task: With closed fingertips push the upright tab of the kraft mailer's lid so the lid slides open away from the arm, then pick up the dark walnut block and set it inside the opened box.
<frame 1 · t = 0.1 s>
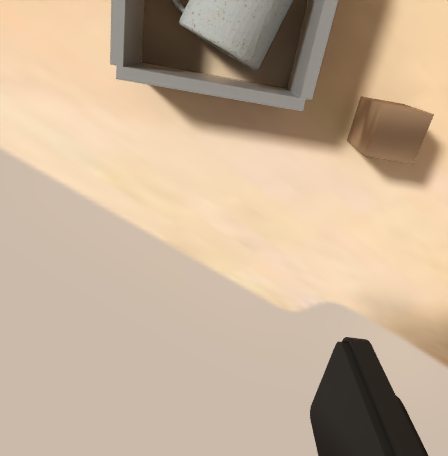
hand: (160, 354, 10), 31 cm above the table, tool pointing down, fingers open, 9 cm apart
walnut block: (374, 122, 37), on the table
coaster tray: (226, 1, 32), on the table
ceramic mug: (225, 1, 33), resting in coaster tray
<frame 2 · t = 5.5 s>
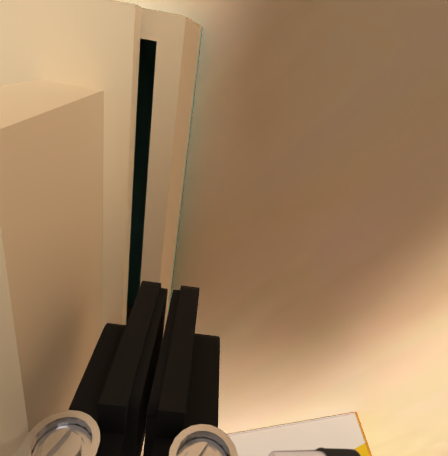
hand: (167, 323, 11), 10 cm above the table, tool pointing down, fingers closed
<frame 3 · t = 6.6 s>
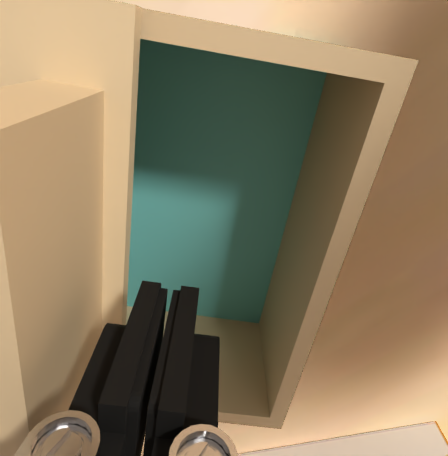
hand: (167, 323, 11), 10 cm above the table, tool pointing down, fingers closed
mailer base: (94, 183, 19), on the table
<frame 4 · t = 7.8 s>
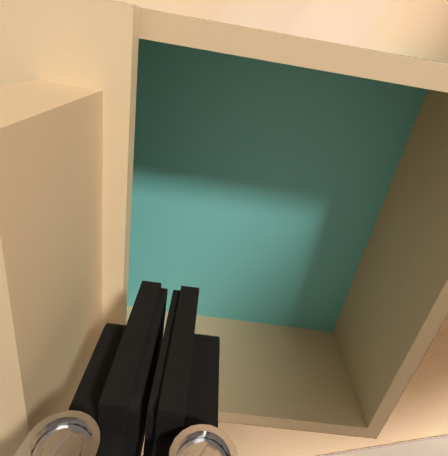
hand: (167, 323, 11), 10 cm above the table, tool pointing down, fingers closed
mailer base: (182, 196, 19), on the table
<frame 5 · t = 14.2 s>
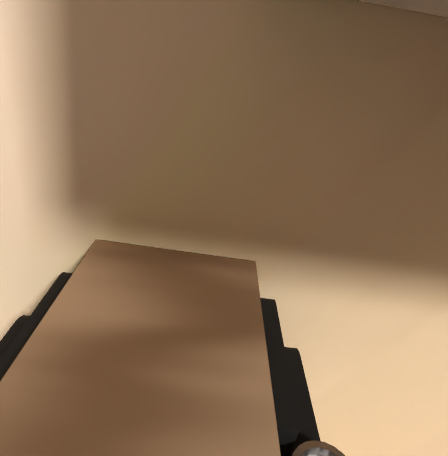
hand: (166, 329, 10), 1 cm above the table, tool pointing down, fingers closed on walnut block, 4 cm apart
walnut block: (169, 312, 11), on the table, touching gripper
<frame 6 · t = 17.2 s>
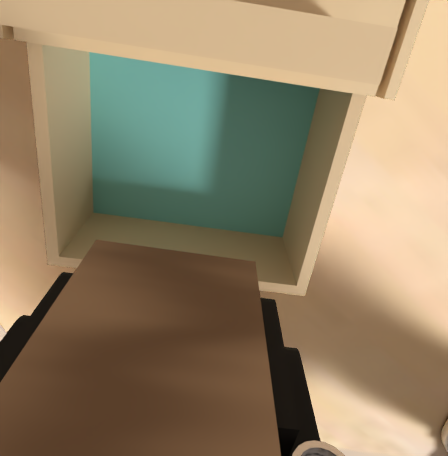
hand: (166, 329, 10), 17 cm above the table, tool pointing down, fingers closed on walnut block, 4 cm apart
walnut block: (170, 312, 11), point 17 cm above the table, touching gripper
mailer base: (206, 81, 23), on the table
when the fingers open (4 cm above the table, at t = 20.1 s): walnut block drops 3 cm, resting on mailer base.
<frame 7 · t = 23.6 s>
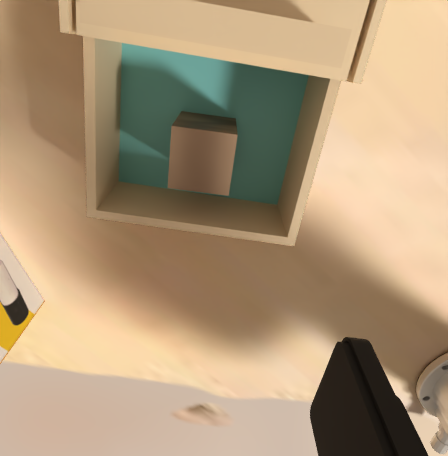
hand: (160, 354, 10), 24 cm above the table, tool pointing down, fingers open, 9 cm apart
walnut block: (205, 141, 31), point 1 cm above the table, touching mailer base
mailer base: (215, 71, 29), on the table
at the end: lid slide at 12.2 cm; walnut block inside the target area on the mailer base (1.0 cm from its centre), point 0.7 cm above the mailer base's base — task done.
